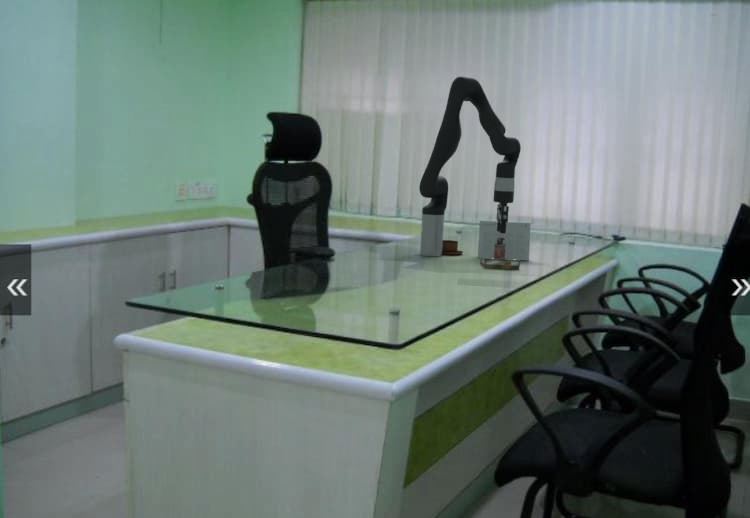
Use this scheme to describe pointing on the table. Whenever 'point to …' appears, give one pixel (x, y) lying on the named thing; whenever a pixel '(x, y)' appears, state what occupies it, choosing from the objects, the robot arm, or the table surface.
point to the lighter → (499, 248)
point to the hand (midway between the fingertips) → (501, 232)
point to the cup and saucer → (450, 248)
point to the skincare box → (514, 239)
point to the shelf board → (500, 263)
